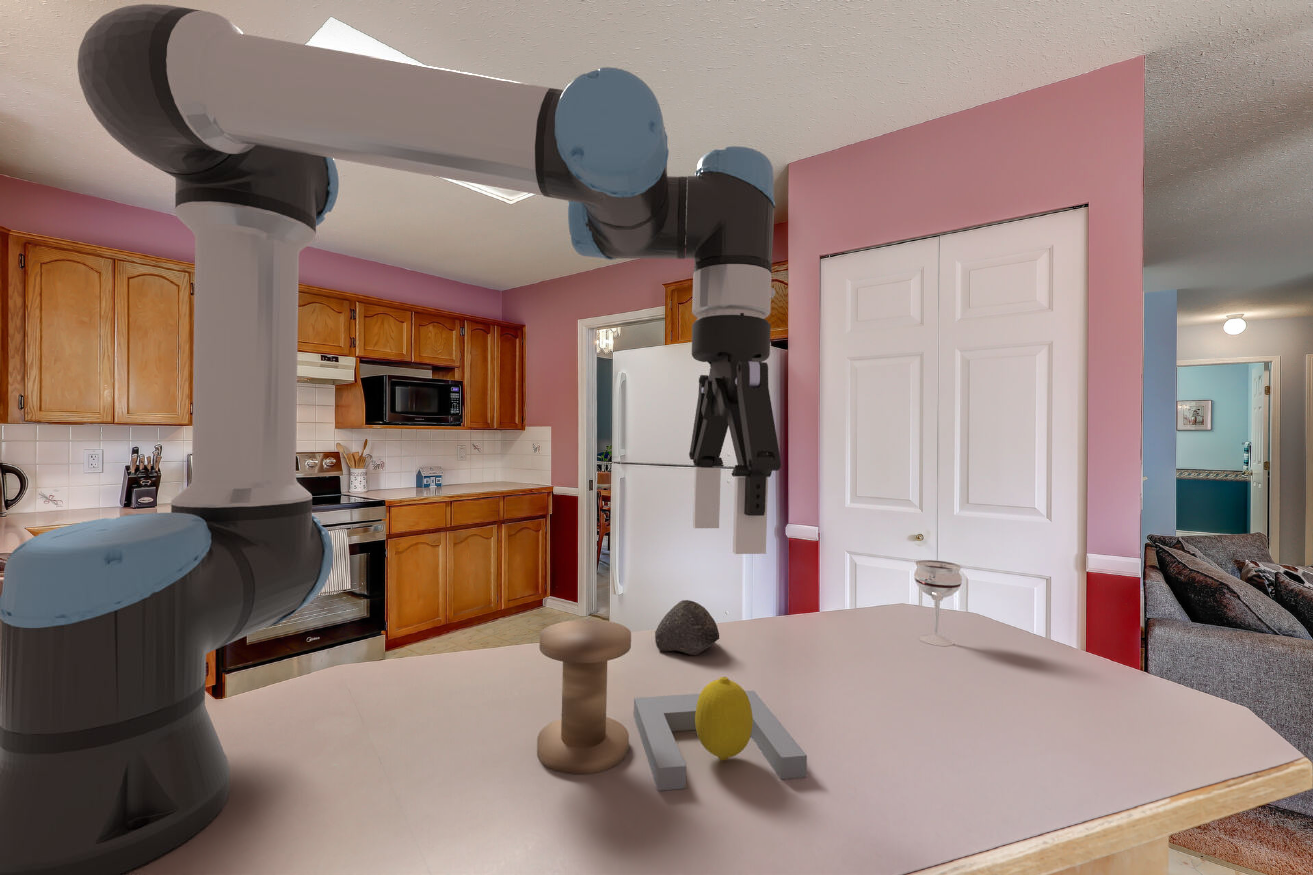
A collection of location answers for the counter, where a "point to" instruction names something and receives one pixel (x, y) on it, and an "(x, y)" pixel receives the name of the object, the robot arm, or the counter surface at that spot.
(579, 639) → the bobbin
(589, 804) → the counter surface
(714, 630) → the stone
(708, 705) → the lemon
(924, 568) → the wineglass
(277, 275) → the robot arm
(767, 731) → the notch board
